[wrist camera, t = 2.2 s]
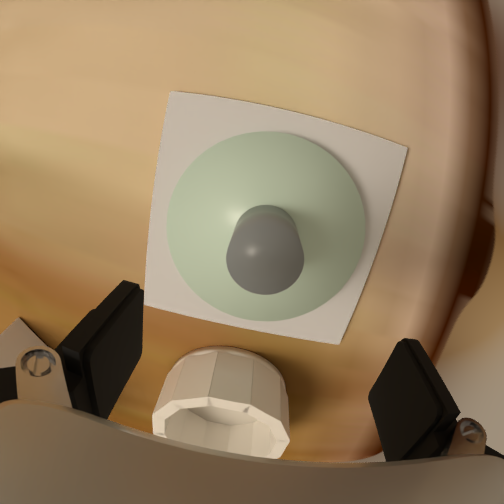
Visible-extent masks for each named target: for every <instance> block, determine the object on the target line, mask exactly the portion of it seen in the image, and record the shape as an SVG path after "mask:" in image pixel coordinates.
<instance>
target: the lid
mask: <svg viewBox="0 0 504 504" xmlns="http://www.w3.org/2000/svg"><path fill="white" fill-rule="evenodd" d="M166 230H167V241H168V245H169V250H170V253H171V256H172V259H173V261H174V264H175V266H176V268H177V270H178V272H179V273H180V275H181V276H182V278H183V279H184V281H185V282H186V284H187V285H188V286H189V287H190V288H191V289H192V290H193V291H194V292H195V293H196V294H197V295H198V296H199V297H200V298H201V299H202V300H204V301H205V302H207V303H208V304H210V305H211V306H213V307H214V308H216V309H218V310H220V311H222V312H224V313H227V314H229V315H232V316H234V317H238V318H242V319H246V320H253V321H268V322H269V321H281V320H286V319H291V318H295V317H298V316H301V315H304V314H306V313H308V312H311V311H313V310H315V309H317V308H318V307H320V306H321V305H323V304H325V303H326V302H327V301H329V300H330V299H331V298H332V297H334V296H335V295H336V294H337V293H338V292H339V291H340V290H341V289H342V288H343V286H344V285H345V284H346V282H347V281H348V280H349V279H350V277H351V275H352V274H353V272H354V270H355V268H356V266H357V264H358V262H359V259H360V257H361V253H362V249H363V246H364V239H365V215H364V208H363V204H362V201H361V197H360V194H359V192H358V190H357V188H356V186H355V183H354V182H353V180H352V179H351V177H350V175H349V174H348V172H347V171H346V170H345V169H344V167H343V166H342V165H341V164H340V163H339V162H338V161H337V160H336V159H335V158H334V157H333V156H332V155H331V154H329V153H328V152H327V151H325V150H324V149H322V148H321V147H319V146H318V145H316V144H314V143H312V142H310V141H308V140H306V139H304V138H301V137H297V136H294V135H291V134H286V133H280V132H266V131H260V132H251V133H245V134H241V135H237V136H233V137H231V138H228V139H226V140H223V141H221V142H219V143H217V144H215V145H214V146H212V147H210V148H209V149H207V150H206V151H205V152H203V153H202V154H201V155H200V156H198V157H197V158H196V159H195V160H194V161H193V162H192V163H191V164H190V165H189V166H188V168H187V169H186V170H185V172H184V173H183V175H182V176H181V177H180V179H179V181H178V183H177V185H176V187H175V189H174V191H173V194H172V196H171V199H170V202H169V207H168V212H167V224H166Z"/></svg>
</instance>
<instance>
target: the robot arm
mask: <svg viewBox="0 0 504 504" xmlns="http://www.w3.org/2000/svg"><path fill="white" fill-rule="evenodd" d="M143 303H144V290H142V289H140V286H139V284H136V283H132V282H129V281H125V280H123V281H122V282H121V283H120V284H119V285H118V286H117V287H116V288H115V289H114V290H113V291H112V292H111V293H110V294H109V295H108V296H107V297H106V298H105V299H104V300H103V301H102V302H101V303H100V305H99V306H98V307H97V308H96V309H93V310H91V311H90V312H89V313H88V314H87V315H86V316H85V317H84V318H83V319H82V320H81V321H80V323H79V324H78V325H77V326H76V327H75V328H74V329H73V330H72V331H71V332H70V333H69V334H68V336H67V337H66V338H65V339H64V340H63V341H62V342H61V343H60V344H59V345H58V347H57V348H56V349H55V350H53V349H51V348H49V347H45V346H33V347H29V348H27V349H25V350H23V351H22V352H21V353H20V354H19V355H18V357H17V359H16V364H15V365H16V366H12V367H6V368H0V504H504V455H502V454H500V453H499V452H497V451H495V450H493V449H492V448H490V447H488V446H487V445H486V440H487V438H486V437H487V435H486V432H485V430H484V428H483V427H482V425H481V424H479V423H478V422H477V421H475V420H473V419H471V418H462V419H460V420H459V421H458V422H457V420H456V418H457V416H458V415H459V414H460V413H461V412H460V410H459V409H458V407H457V405H456V403H455V401H454V400H453V398H452V396H451V394H450V392H449V391H448V389H447V387H446V385H445V384H444V382H443V380H442V379H441V377H440V375H439V373H438V372H437V370H436V368H435V367H434V365H433V363H432V362H431V360H430V358H429V357H428V355H427V354H426V352H425V350H424V349H423V347H422V346H421V344H420V342H419V341H418V340H415V339H408V338H404V339H402V340H401V341H399V342H398V343H397V344H396V346H395V348H394V350H393V352H392V354H391V355H390V357H389V359H388V361H387V363H386V365H385V366H384V368H383V370H382V372H381V373H380V375H379V377H378V379H377V380H376V382H375V384H374V385H373V387H372V389H371V390H370V392H369V396H368V400H369V403H370V407H371V410H372V413H373V417H374V420H375V423H376V427H377V430H378V434H379V437H380V441H381V445H382V448H383V452H384V455H385V459H386V462H370V463H328V462H306V461H293V460H282V459H272V458H264V457H256V456H249V455H243V454H236V453H231V452H225V451H220V450H214V449H210V448H205V447H200V446H196V445H191V444H187V443H183V442H179V441H175V440H172V439H168V438H164V437H161V436H157V435H153V434H150V433H147V432H143V431H140V430H137V429H133V428H130V427H127V426H124V425H121V424H118V423H115V422H113V421H110V420H107V419H108V417H109V415H110V413H111V411H112V409H113V407H114V405H115V403H116V401H117V400H118V398H119V396H120V394H121V392H122V390H123V388H124V387H125V385H126V383H127V381H128V379H129V377H130V376H131V374H132V372H133V370H134V368H135V367H136V365H137V363H138V361H139V359H140V357H141V354H142V335H143Z"/></svg>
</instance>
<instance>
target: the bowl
mask: <svg viewBox="0 0 504 504" xmlns="http://www.w3.org/2000/svg"><path fill="white" fill-rule="evenodd" d="M152 417H153V433H154V435H157V436H161V437H164V438H168V439H172V440H175V441H179V442H183V443H187V444H191V445H196V446H200V447H205V448H210V449H214V450H220V451H225V452H231V453H236V454H243V455H249V456H256V457H264V458H272V459H277V458H279V457H280V456H281V455H282V453H283V451H284V450H285V448H286V447H287V445H288V443H289V442H290V429H289V406H288V396H287V393H286V387H285V382H284V379H283V377H282V375H281V373H280V372H279V370H278V369H277V368H276V367H275V366H274V365H273V364H272V363H271V362H269V361H268V360H266V359H265V358H263V357H262V356H260V355H258V354H255V353H253V352H250V351H248V350H244V349H240V348H236V347H229V346H209V347H203V348H199V349H195V350H193V351H190V352H188V353H186V354H185V355H183V356H182V357H180V358H179V359H178V360H177V361H176V362H175V364H174V366H173V367H172V370H171V371H170V372H169V373H168V375H167V377H166V380H165V382H164V385H163V388H162V390H161V393H160V396H159V398H158V401H157V404H156V406H155V409H154V412H153V414H152Z"/></svg>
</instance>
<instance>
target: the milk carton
mask: <svg viewBox="0 0 504 504" xmlns="http://www.w3.org/2000/svg"><path fill="white" fill-rule="evenodd" d="M33 346H45V347H48V346H47V345H46V344H44V343H43V342H42V341H41V340H40V339H39V338H38V337H37V336H36V335H35V334H34V333H33V332H32V331H31V330H30V329H29V327H28V326H27V325H26V324H25V323H24V322H23V321H22V320H21V319H20V318H17V319H16V320H15V321H14V322H13V323H12V324H11V325H10V326H9V327H8V328H7V329H6V330H5V331H4V332H3V333H2V334H1V335H0V368H6V367H12V366H16V365H15V364H16V359H17V357H18V355H19V354H20V353H21V352H22V351H23V350H25V349H27V348H29V347H33Z"/></svg>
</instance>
